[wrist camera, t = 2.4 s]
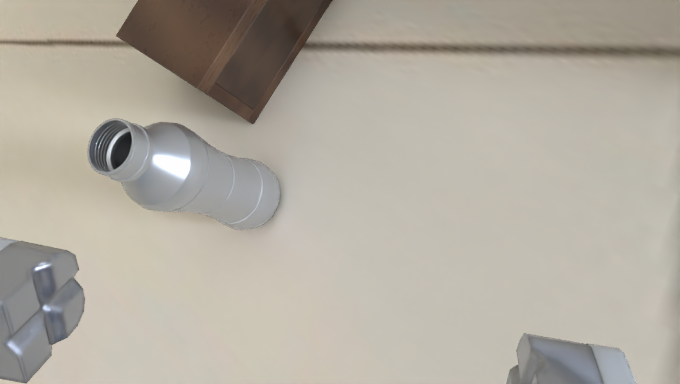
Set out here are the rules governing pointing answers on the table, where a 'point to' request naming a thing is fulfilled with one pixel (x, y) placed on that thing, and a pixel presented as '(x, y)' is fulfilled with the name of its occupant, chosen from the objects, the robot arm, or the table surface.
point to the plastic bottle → (183, 173)
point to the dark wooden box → (225, 44)
